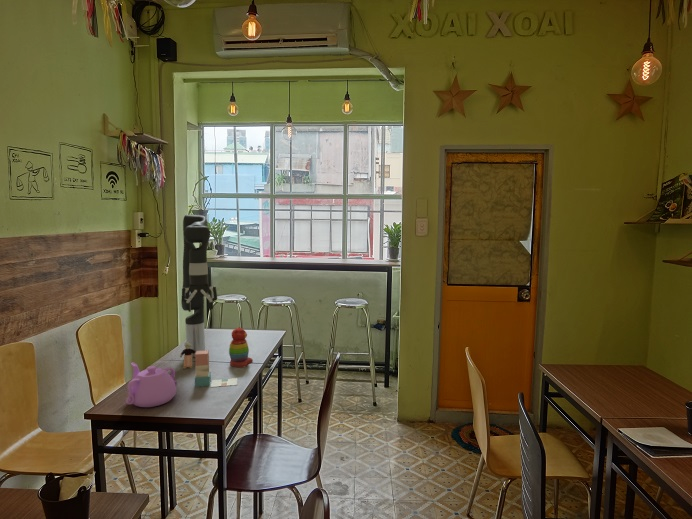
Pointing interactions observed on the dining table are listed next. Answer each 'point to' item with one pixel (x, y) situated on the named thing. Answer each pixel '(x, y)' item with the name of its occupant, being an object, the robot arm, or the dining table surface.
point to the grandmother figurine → (187, 355)
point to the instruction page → (224, 382)
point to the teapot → (151, 386)
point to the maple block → (202, 370)
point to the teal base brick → (203, 380)
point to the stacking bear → (239, 349)
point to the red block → (202, 357)
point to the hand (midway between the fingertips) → (200, 310)
